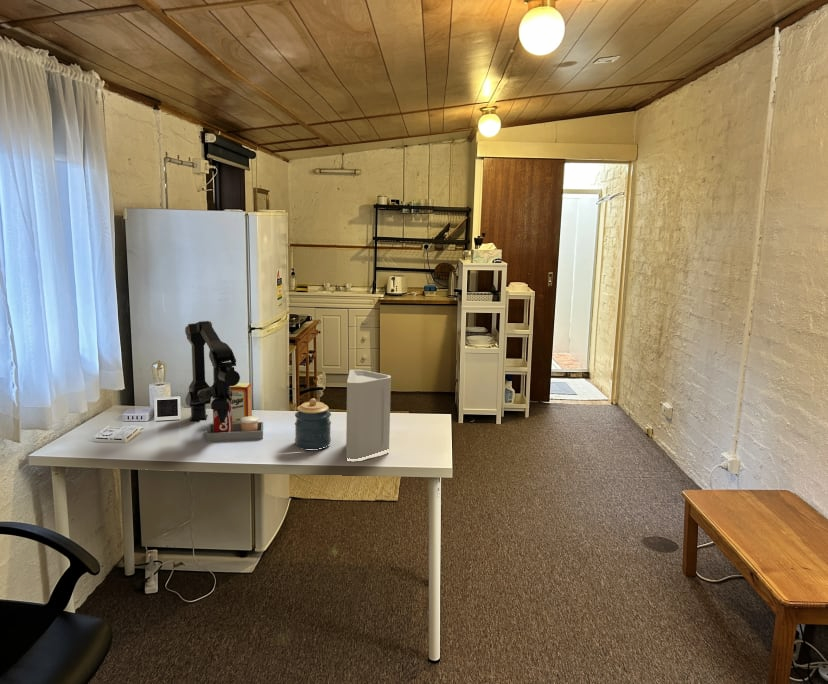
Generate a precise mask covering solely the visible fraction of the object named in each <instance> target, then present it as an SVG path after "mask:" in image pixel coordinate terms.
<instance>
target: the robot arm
mask: <svg viewBox="0 0 828 684" xmlns="http://www.w3.org/2000/svg"><path fill="white" fill-rule="evenodd" d="M184 332H185V335H186V339H187V341H188V343H189V344H190V345H191V365H192V381H191V383H190V384H189V386H188V392H187V394H186V397H185V404H186V405H187V406H188V407H189V408H190V417H189V420H188V421H189V422H193V421H207V419H208V415H209V414H208V413H207V409H206V407H207V405H209V404H210V408H211V410H213V409H214V410H216V411H217V413H218V417H219V420H220V423H224V421H225V418H226V416H227V413H228V411H229V408H230V403H231V400H232V398H230V397H232V390H231V389H230V386H235V385H237V384H238V383H240V380H241V375H240V373H239V372H238V371H237V370H235V367H237V363H236V362H237V359H236V357H235V354H234V352H233V349H232V347H230V346H229V345H228V344H227V343H226V342H224V341H222V340H221V338H220V336H219V335H218V334H217V332H216V331H215V329H214V328H213V324H212V322H211V321H209V320H204V321H203V320H201V321H198V322H195V323H188V324H187V326H185V328H184ZM205 345H207V347H208V349H209V352H208V353H209V354H208V357H209V360H210V362H211V366H212V367H213V368H212V369H213V370H212V371H213V382H212V383H213V384H212V385H209V384H208V382H207V381H206V369H205V366H206V365H205V363H206V362H205Z"/></svg>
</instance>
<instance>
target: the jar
mask: <svg viewBox="0 0 828 684" xmlns="http://www.w3.org/2000/svg"><path fill="white" fill-rule="evenodd" d="M240 422H241V432H244V431H258V425H257V422H259V417H257V416H253V415H252V416H248V417H243V418H241V419H240Z"/></svg>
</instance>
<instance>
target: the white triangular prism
mask: <svg viewBox="0 0 828 684" xmlns="http://www.w3.org/2000/svg"><path fill="white" fill-rule="evenodd" d="M391 384H392V376H391V375H389V374H384V373H380V372H374V371H369V370H364V369H349V371H348V376H347V380H346V430H345V431H346V433H345V435H346V439H345V440H346V441H345V442H346V443H345V444H346V445H345V446H346V447H345V448H346V449H345V450H346V451H345V459H346V458H348V459H349V458H350V459H358V458H362V457H366V456H369V455H372V454H375V453H378V452H381V451H384V450H387V449H389V450H390V431H391V430H390V429H391V427H390V426H391V425H390V424H391V391H392V390H391V389H392V388H391V387H392V385H391Z"/></svg>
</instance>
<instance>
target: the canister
mask: <svg viewBox="0 0 828 684" xmlns="http://www.w3.org/2000/svg"><path fill="white" fill-rule="evenodd" d="M296 409H297V411H296V412H295V413H294V416H295V419H296V420H295V422H294V425H295V432H294V433H295V438H294V443H295V446H296V447H297V448H299V449H301V448H303V449H302V450H305V449H319V448H323V447H326V446H328V445H329V444H330V445H331V441H332V438H331V425H332V421H331V420H330V417H331V415H332V413H331V412H330V411H329V406H328V405H327V404H325V403H324V402H321V401H317V399H316V398H311V399H310V400H309V401H305V402H303V403H302V404H301V405H299V406H297V408H296ZM330 445H329V446H330ZM329 446H328V447H329Z"/></svg>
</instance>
